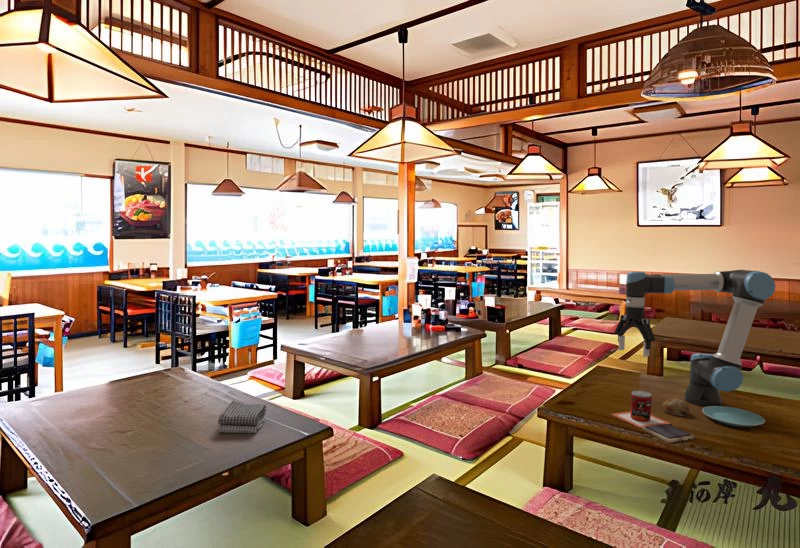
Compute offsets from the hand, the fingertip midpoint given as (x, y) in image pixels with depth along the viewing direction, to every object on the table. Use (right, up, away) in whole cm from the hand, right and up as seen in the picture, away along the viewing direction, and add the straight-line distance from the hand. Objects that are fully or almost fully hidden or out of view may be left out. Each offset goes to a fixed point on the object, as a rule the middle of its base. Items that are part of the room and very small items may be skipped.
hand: (633, 353), depth 220 cm
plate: (+36, -27, -12) cm, 47 cm away
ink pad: (0, -27, -29) cm, 39 cm away
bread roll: (+17, -26, -3) cm, 31 cm away
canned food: (-4, -26, -14) cm, 29 cm away
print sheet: (-4, -26, -14) cm, 29 cm away
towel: (-167, -25, -28) cm, 171 cm away
